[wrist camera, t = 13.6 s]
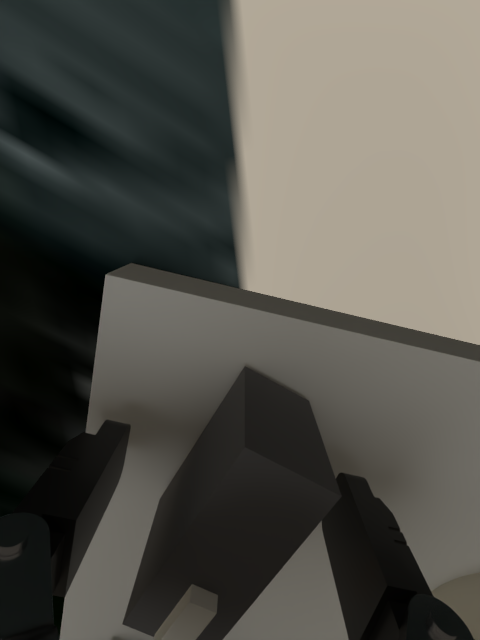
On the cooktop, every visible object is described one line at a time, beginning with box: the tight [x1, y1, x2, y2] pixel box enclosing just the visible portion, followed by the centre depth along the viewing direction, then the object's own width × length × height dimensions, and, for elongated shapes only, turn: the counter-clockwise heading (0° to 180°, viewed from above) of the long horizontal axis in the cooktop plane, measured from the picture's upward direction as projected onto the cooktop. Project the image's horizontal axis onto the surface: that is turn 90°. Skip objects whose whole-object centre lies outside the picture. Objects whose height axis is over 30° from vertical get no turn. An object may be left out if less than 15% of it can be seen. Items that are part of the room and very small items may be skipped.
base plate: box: [60, 263, 480, 640], centre depth 13 cm, size 20×22×7 cm
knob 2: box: [122, 366, 342, 640], centre depth 10 cm, size 2×6×4 cm, turn 150°
